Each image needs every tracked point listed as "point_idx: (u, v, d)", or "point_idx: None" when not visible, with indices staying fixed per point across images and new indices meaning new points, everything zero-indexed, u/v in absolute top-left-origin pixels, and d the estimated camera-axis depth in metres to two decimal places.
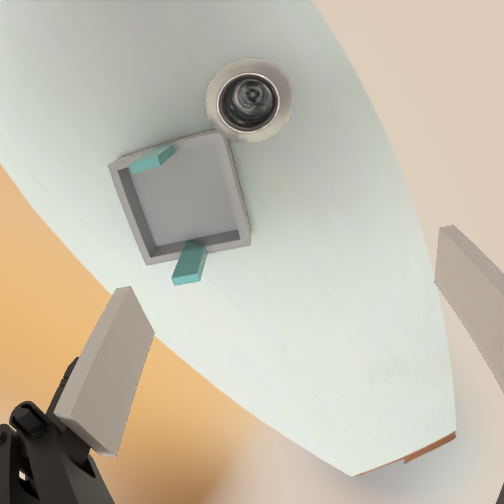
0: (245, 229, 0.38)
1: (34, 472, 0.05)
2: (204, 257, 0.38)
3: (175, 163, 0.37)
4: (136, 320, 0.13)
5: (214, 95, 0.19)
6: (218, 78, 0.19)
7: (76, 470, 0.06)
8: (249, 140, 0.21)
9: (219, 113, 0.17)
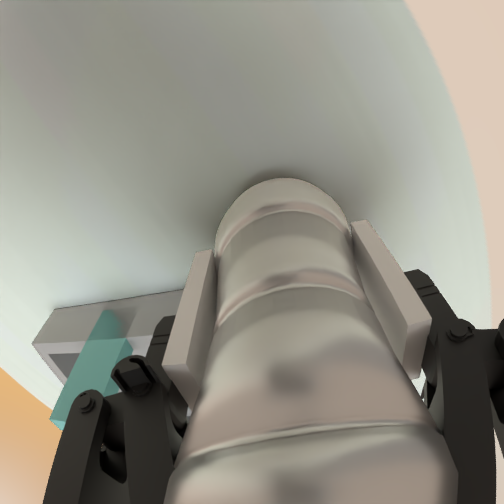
0: None
1: (126, 434, 0.07)
2: None
3: None
4: None
5: None
6: None
7: (177, 438, 0.07)
8: None
9: None
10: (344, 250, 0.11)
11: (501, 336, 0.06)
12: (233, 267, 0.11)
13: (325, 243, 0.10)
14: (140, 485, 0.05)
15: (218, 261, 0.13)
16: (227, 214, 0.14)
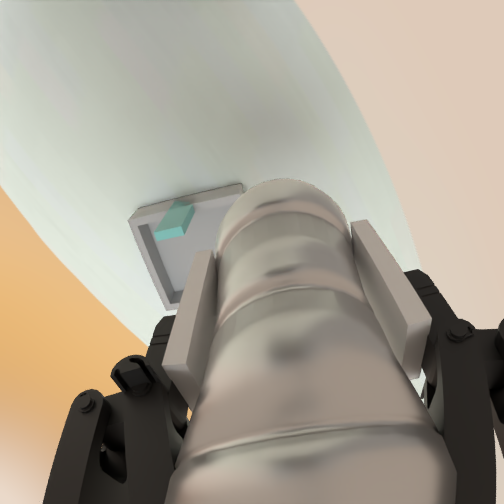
0: None
1: (126, 434, 0.07)
2: None
3: (193, 217, 0.40)
4: (217, 282, 0.14)
5: None
6: None
7: (177, 438, 0.07)
8: None
9: None
10: (344, 251, 0.11)
11: (501, 336, 0.06)
12: (233, 268, 0.11)
13: (325, 244, 0.10)
14: (140, 485, 0.05)
15: (218, 262, 0.13)
16: (227, 215, 0.14)
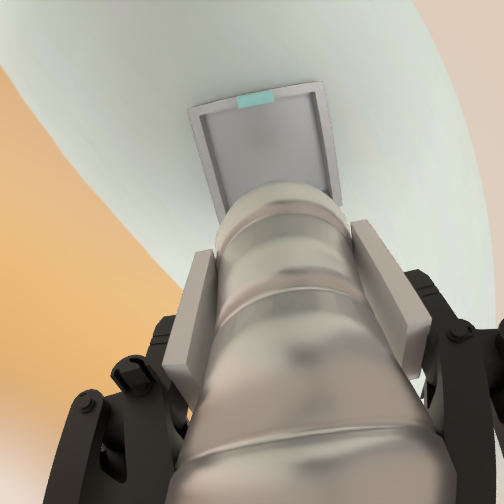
0: (339, 188, 0.34)
1: (126, 434, 0.07)
2: None
3: (262, 115, 0.33)
4: (217, 282, 0.14)
5: None
6: None
7: (177, 438, 0.07)
8: None
9: None
10: (344, 252, 0.11)
11: (501, 336, 0.06)
12: (233, 269, 0.11)
13: (325, 245, 0.10)
14: (140, 485, 0.05)
15: (218, 262, 0.13)
16: (227, 215, 0.14)
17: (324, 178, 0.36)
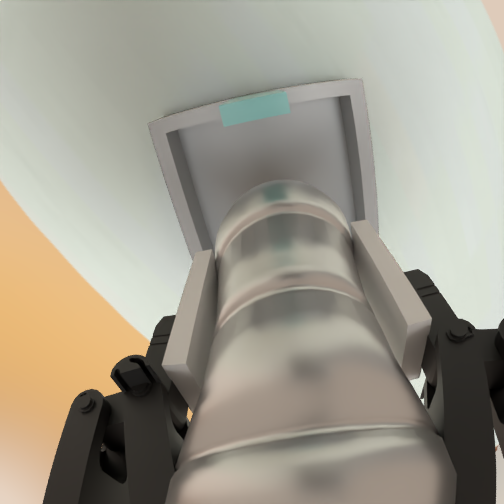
0: None
1: (126, 433, 0.07)
2: None
3: (265, 128, 0.22)
4: (217, 282, 0.14)
5: None
6: None
7: (177, 438, 0.07)
8: None
9: None
10: (344, 252, 0.11)
11: (501, 336, 0.06)
12: (233, 269, 0.11)
13: (325, 245, 0.10)
14: (140, 485, 0.05)
15: (218, 263, 0.13)
16: (227, 216, 0.14)
17: None
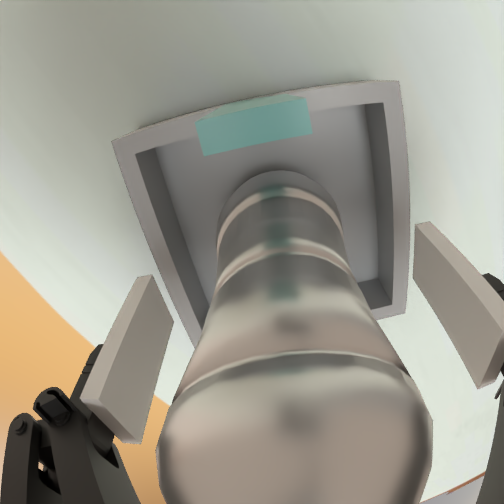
0: (405, 287, 0.18)
1: (55, 461, 0.06)
2: None
3: (268, 144, 0.17)
4: (157, 308, 0.13)
5: None
6: (185, 499, 0.04)
7: (100, 460, 0.07)
8: None
9: None
10: (330, 230, 0.12)
11: None
12: (230, 245, 0.12)
13: (312, 222, 0.12)
14: None
15: (218, 245, 0.15)
16: (227, 203, 0.15)
17: (376, 259, 0.20)
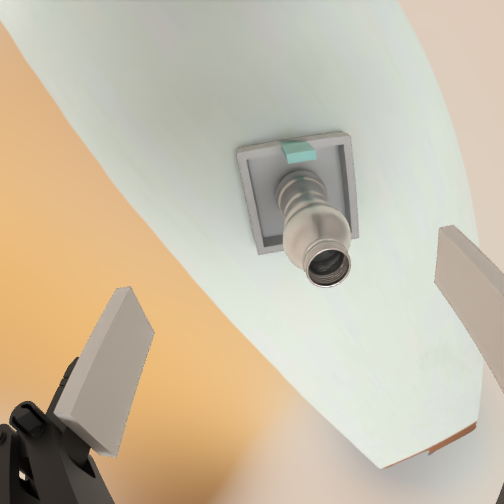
0: (357, 223, 0.41)
1: (34, 473, 0.05)
2: None
3: None
4: (136, 320, 0.13)
5: (296, 244, 0.27)
6: (298, 228, 0.27)
7: (76, 470, 0.06)
8: None
9: (308, 274, 0.25)
10: (322, 190, 0.35)
11: None
12: (289, 194, 0.35)
13: (316, 187, 0.35)
14: None
15: (280, 197, 0.38)
16: (282, 182, 0.39)
17: (344, 213, 0.44)
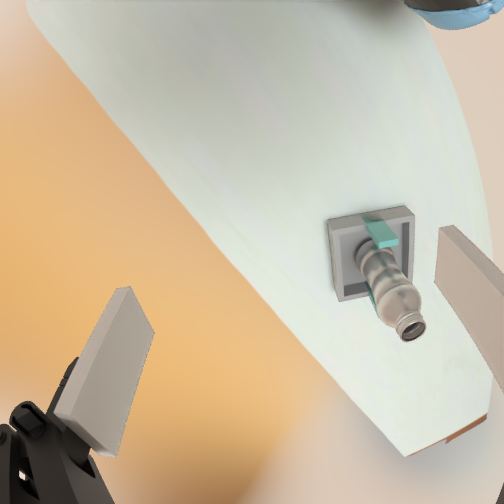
0: (411, 276, 0.51)
1: (34, 472, 0.05)
2: None
3: None
4: (136, 320, 0.13)
5: (390, 313, 0.38)
6: (392, 303, 0.38)
7: (76, 470, 0.06)
8: None
9: (401, 336, 0.36)
10: (395, 261, 0.46)
11: None
12: (373, 265, 0.46)
13: (392, 259, 0.45)
14: None
15: (363, 264, 0.48)
16: (363, 251, 0.49)
17: (401, 266, 0.54)
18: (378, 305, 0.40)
